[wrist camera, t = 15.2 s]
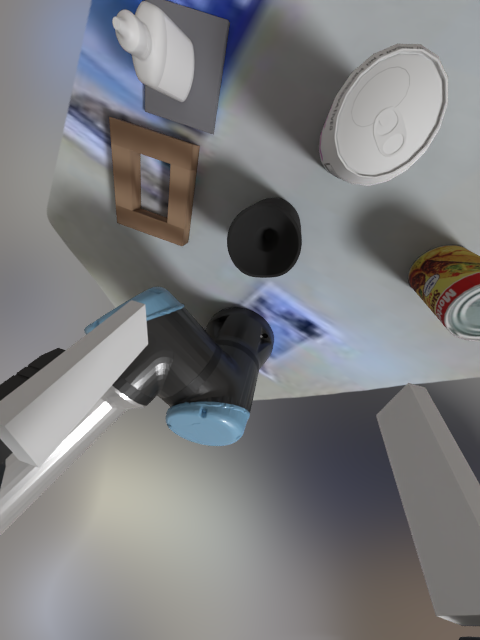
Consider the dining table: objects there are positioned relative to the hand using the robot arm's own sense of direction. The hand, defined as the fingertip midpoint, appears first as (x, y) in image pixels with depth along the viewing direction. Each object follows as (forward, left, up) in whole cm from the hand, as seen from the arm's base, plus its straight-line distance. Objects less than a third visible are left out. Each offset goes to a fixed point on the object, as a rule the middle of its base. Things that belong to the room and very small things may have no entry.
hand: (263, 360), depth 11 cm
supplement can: (+12, -3, -30) cm, 33 cm away
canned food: (+1, -23, -30) cm, 38 cm away
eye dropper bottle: (+13, +20, -30) cm, 38 cm away
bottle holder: (-1, +23, -30) cm, 38 cm away
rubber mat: (+13, +20, -30) cm, 38 cm away
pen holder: (-1, +3, -30) cm, 31 cm away
